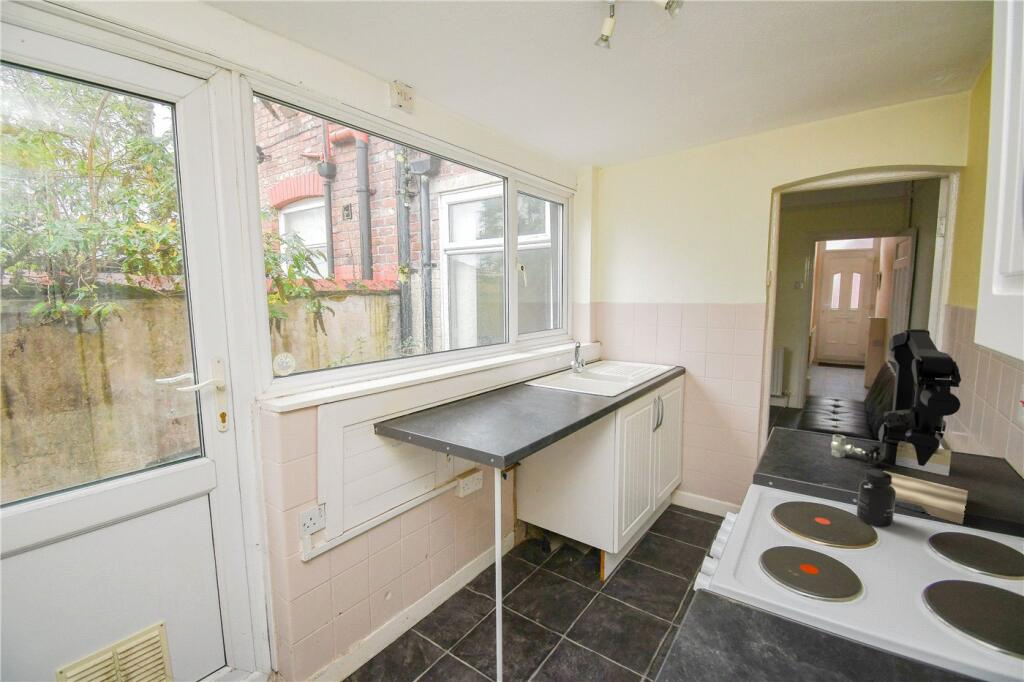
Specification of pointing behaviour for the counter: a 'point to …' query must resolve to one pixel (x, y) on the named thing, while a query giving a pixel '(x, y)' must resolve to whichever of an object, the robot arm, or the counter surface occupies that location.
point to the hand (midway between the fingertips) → (922, 462)
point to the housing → (935, 464)
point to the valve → (852, 449)
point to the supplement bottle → (876, 499)
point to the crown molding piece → (931, 497)
